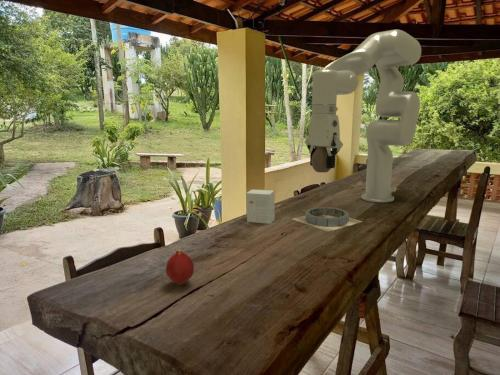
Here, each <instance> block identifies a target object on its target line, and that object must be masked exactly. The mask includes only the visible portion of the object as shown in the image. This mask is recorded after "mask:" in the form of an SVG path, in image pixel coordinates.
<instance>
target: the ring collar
mask: <svg viewBox="0 0 500 375" xmlns="http://www.w3.org/2000/svg"><path fill="white" fill-rule="evenodd" d="M304 214H305V215H304V216H305V220H306V221H307V222H308V223H310V224H313V225H316V226H324V227H338V226H342V225H346V224H347V223H348V221H349V218H350V212H348V211H346V210H345V209H342V208H337V207H331V206H329V207H326V206H322V207H320V206H318V207H312V208H307V210H306V211H305V212H304ZM318 215H329V216H336V217H337V218H324V217H317V216H318Z"/></svg>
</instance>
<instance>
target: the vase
mask: <svg viewBox="0 0 500 375" xmlns="http://www.w3.org/2000/svg"><path fill="white" fill-rule="evenodd" d="M327 156H329V155H328V152H327V149H326V147H318V148H317V149H316V150H315V152H314V153H313V155H312V160H311V162H312V166H311V167H312V169H313V170H314V172H316V173H322V174H323V173H329V172H330V171H331V169H332V168H330V169H328V168H326V164H327Z"/></svg>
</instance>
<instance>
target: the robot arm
mask: <svg viewBox="0 0 500 375" xmlns="http://www.w3.org/2000/svg"><path fill="white" fill-rule="evenodd" d="M421 46H422V45H421V44H420V42H419V41H418V39H416V38H415V37H414V36H412V35H410V34H409V33H407V32H406V31H404V30H401V29H397V28H396V29H390V30H385V31H384V30H383V31H378V32H375V33H372V34H370V35H368V36H367V38H365V39H364V41H362V42H361V43H360V44H359V45H358V46H357V47H356V48H355V49H354V50H353V51H352V52H349V53H346V54H345V55H343V56H341V57H339V58H337V59H336V60H334V61H332V62H330V63H328V64H327V65H326V66H325V67H323V68H322V69H318V70H315V71H314V72H313V74H312V88H311V89H312V96H311V98H312V100H311V115H310V121H309V125H308V126H309V127H308V137H307V138H306V139H305V140H304V143H305V145H306V147H307V149H308V153H309V154H310V157H309V164H310V166H311V167H312V162H311V160H312V155H313V153H314V152H315V150H316V149H317V148H318V147H326V149H327V152H328V155H329V156H327V164H326V168H328V169H330V168H331V169H335V167H336V156H337V155H338V153H339V152H340V151H341V149H342V147H343V146H344V144H343V142H342V141H341V131H340V120H339V116H338V115H339V114H338V115H337V112H338V109H339V108H338V107H337V100H338V99H337V96H341V95H342V96H344V95H349V94H352V93H353V92H355V91H356V90H357V88H358V85H359V78H358V76H360V75H363V74H365V73H368V72H369V71H370V70H371V69H372V68H373V67H374V65H375V67H376V69H377V70H378V71H377V72H378V75H379V78H380V79H379V80H380V81H379V87H378V94H377V98H376V103H375V113H376V115H378V117H382V118H400V119H376V120H373V121H371V122H369V123H368V125H367V126H366V129H365V135H366V143H367V159H366V160H367V161H366V176H365V178H366V180H365V193H362V194H361V196H360V197H361V199H362V200H363V201H366V202H367V201H368V202H372V203H391V202H394V200H395V197H394V196H393V195H392V193H395V192H397V188H396V187H392V177H393V176H392V174H393V161H394V155H393V151H392V150H391V148H390V146H397V147H398V146H399V147H402V146H403V147H405V146H408V145H410V144H411V143H412V142H413V140H414V136H415V132H416V127H417V122H418V118H419V114H420V107H421V101H420V100H421V99H420V97H419V94H418V93H416V92H415V91H405V90H404V91H403V88H404V82H405V81H404V80H405V79H404V77H403V75H402V73H401V72H400V71H399V69H398V68H397V67H402V66H404V67H405V66H410V65H415V64H416V63H417V62H419V60H420V58H421V56H422V47H421ZM331 169H330V170H331Z"/></svg>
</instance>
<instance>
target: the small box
mask: <svg viewBox="0 0 500 375" xmlns="http://www.w3.org/2000/svg"><path fill="white" fill-rule="evenodd" d="M245 195H246V200H245V201H246V225H251V223H258V224H269V225H271V224H272V223H273V222H274V221H275V219H276V218H275V212H276V211H275V190H267V189H250V190H249V191H247V192H246V193H245Z"/></svg>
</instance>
